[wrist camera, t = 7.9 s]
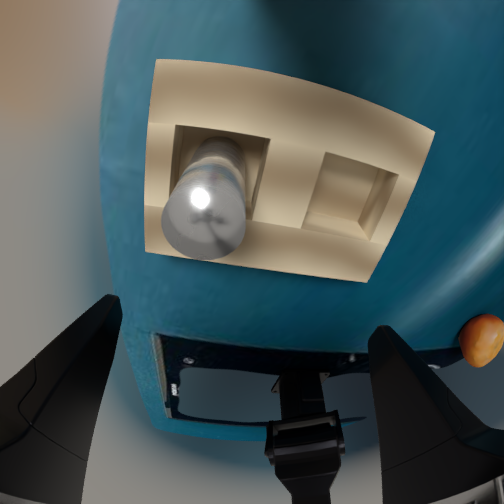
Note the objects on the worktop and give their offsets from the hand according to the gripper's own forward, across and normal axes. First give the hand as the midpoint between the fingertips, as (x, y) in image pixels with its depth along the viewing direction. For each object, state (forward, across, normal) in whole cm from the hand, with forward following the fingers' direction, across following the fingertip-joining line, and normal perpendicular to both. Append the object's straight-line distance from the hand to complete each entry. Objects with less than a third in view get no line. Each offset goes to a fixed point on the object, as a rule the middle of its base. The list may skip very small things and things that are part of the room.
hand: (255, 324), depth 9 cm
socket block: (+12, -2, -2) cm, 12 cm away
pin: (+11, +2, -2) cm, 12 cm away
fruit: (+12, -37, +13) cm, 41 cm away
